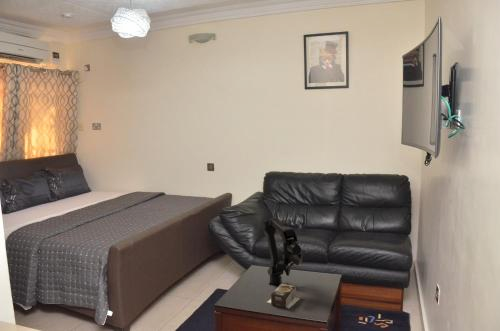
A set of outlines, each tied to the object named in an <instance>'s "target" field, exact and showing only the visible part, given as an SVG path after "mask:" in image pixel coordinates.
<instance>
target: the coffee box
mask: <svg viewBox="0 0 500 331" xmlns="http://www.w3.org/2000/svg"><path fill="white" fill-rule="evenodd" d="M296 292H297V287H296V286H295V285H291V284H286V283H281V284H280V285H279V286H277V287H276V289H275V290H274V291H273V292H272V293H271V294H270V299H271V303H270V304H271V305H272V306H276V307H281V308H286V307H287V306H288V305H289V303H290V302H291V301H292V300H293V299H294V298H295V297H296V295H297V293H296ZM286 309H287V308H286Z"/></svg>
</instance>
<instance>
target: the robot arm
mask: <svg viewBox="0 0 500 331" xmlns="http://www.w3.org/2000/svg"><path fill="white" fill-rule="evenodd" d="M261 230H262V232H263V234H264V236H265V237H266V240H267V244H268V250H269V254H270V262H269V268H268V269H267V274H268V275H269V283H268V285H271V286H275V287H279V286H280V285H281V284H283V280H282V279H283V278H282V275H284V272H285V274H286V276H287V277H289V276H290V273H291V270H292V267H293V266H294V265H295V266H299V265H301V264H302V261H303V260H304V259H303V254H302V247H301V246H300V245H299V243H298V237H297V235H296V232H295V230H294V229H293V228H292V227H289V226H285V225H284V223H282V222H281V221H280V220H279V219H278V218H277V217H275V218H269V219H268V220H266V221H265V222H263V224H262V225H261ZM276 231H277V232H278V233H280V237H281V238H282V239H281V242H282V251H281V254H282V258H281V259H280V257H279V251H278V248H277V242H276V237H275V234H276Z"/></svg>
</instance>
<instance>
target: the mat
mask: <svg viewBox="0 0 500 331" xmlns="http://www.w3.org/2000/svg"><path fill="white" fill-rule="evenodd" d="M299 300H300V298H299V297H296V296H295V298H294V299H293V300H292V301H291V302H290V303H289V305H288V306H287V307H286V309H290V308H292V307H293V306H294V305H295V304H296V303H297V302H298V301H299ZM266 303H267V304H271V298H270V299H269V300H268V301H266Z"/></svg>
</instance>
